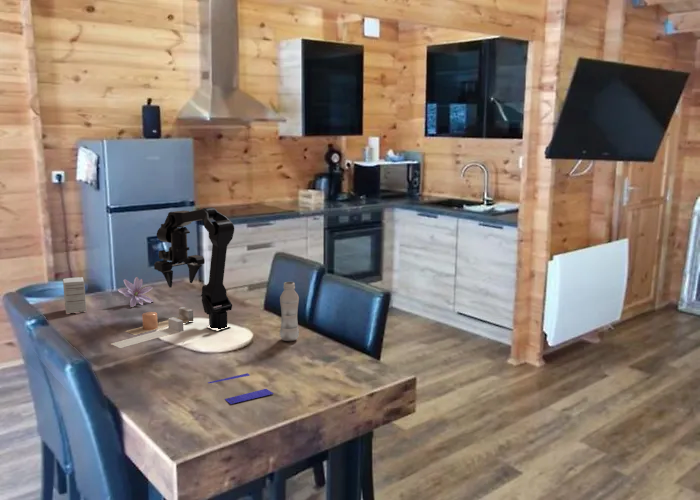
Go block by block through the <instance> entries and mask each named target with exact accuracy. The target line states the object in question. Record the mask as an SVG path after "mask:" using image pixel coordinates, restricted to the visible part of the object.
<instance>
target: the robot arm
mask: <svg viewBox="0 0 700 500" xmlns="http://www.w3.org/2000/svg"><path fill="white" fill-rule="evenodd" d="M211 220H214V221H211ZM196 221H197V222H198V221H203V226H204V229H205V230H206V231H207V232H208V238H209V240H210V243H211V244H212V246H211V247H212V248H211V256H210V265H209V268H210V269H209V277H208V283H206V284H204V285H202V287H201V295H200V297H201V303H202V308H203V312H204V314H205V313H206V315H208V326H209V325H210V327H211V328H218V329H221V328H225V327H227V325H228V311H232V309H233V304H232V302H231V300H230V299H229V297H228V296H227V289H226V287H225V285H224V277H225V269H226V261H227V260H226V259H227V249H228V245H229V244H230V243H231V241H233V237H234V233H235V225H234V223H233V222H232V221H231V219H229V218H228V216H226V215H225V214H223V213H221V212H220V211H218V210H217V209H216V208H215V207H212V206H211V207H203V208H202V209H201V208H200V209H196V210H192V211H189V210H177V211H175V210H174V211H170V212H168V213H167V215H166V218H165V221H164V223H161V224H160V227H159V228H158V229H157V231H156V238H157V240H158V241H160V242H163V243H165V242H166V243H169V244H171V245H170V246H169V247H168V251H166V250H165V249H161V250H158V259H159V260H160V261H155V262H154V264H153V268H154V270H156V271H158V272H160V273H161V274H162V275H163V276H164V278H165V281H166V283H167V285H168V288H172V286H173V280H174V279H173V277H174V275H173V274H174V270H172V269H173V267H178V266H185V265H187V267H188V280H189V283H190V284H192V283H194V279H195V278H196V275H197V274H198V271H199V270H200V268H201V267H203V264H205V257H204V256H202V255H199V254H198V255H197V254H192V255H188V251H190V246H188V235H187V234H190V232H191V231H190V230H189V229H188V228H187V226H189V225H190V224H192V223H193V222H196Z"/></svg>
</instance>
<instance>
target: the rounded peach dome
mask: <svg viewBox="0 0 700 500" xmlns="http://www.w3.org/2000/svg"><path fill="white" fill-rule="evenodd" d="M141 318H142V327H143V329H145V330H152V331H154V330H153V329H156V328H158V313H157V312H155V311H146V312H143V313H142V315H141ZM156 330H157V329H156Z"/></svg>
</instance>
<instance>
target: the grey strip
mask: <svg viewBox="0 0 700 500" xmlns="http://www.w3.org/2000/svg"><path fill="white" fill-rule="evenodd" d="M177 318H178V317H173V316H172V317H169V318H168V319H167V320H168V326H167V327H166V328H164V329H163V328H162V329H158V330H156V331H153V332H152V331H151V332H148V333H145V334H141V335H138V336H137V335H136V336H134V337H130V338H127V339H124V340H123V339H122V340H120V341H116V342H112V343H110V345H112V346H114V347H117V348H119V349H122V348H125V347H129V346H133V345H137V344H139V343H143V342H147V341H148V342H149V341H150V340H154V339H158V338H162V337H164V336H168V335H169V336H170V335H173V334H176V333H180V332H183V331H184V329H185V328H184V324H183V320H180V319H177Z"/></svg>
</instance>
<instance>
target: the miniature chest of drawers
mask: <svg viewBox="0 0 700 500" xmlns="http://www.w3.org/2000/svg"><path fill="white" fill-rule="evenodd" d="M62 285H63V286H62V287H63V296H64V297H63V298H64V307H65V309H64V310H65V314H66V313H74V312H84V311H86V312H87V304H86V303H87V302H86V288H85V286H86V285H85V280H84V277H83V276H78V277H67V278H63V279H62Z"/></svg>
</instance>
